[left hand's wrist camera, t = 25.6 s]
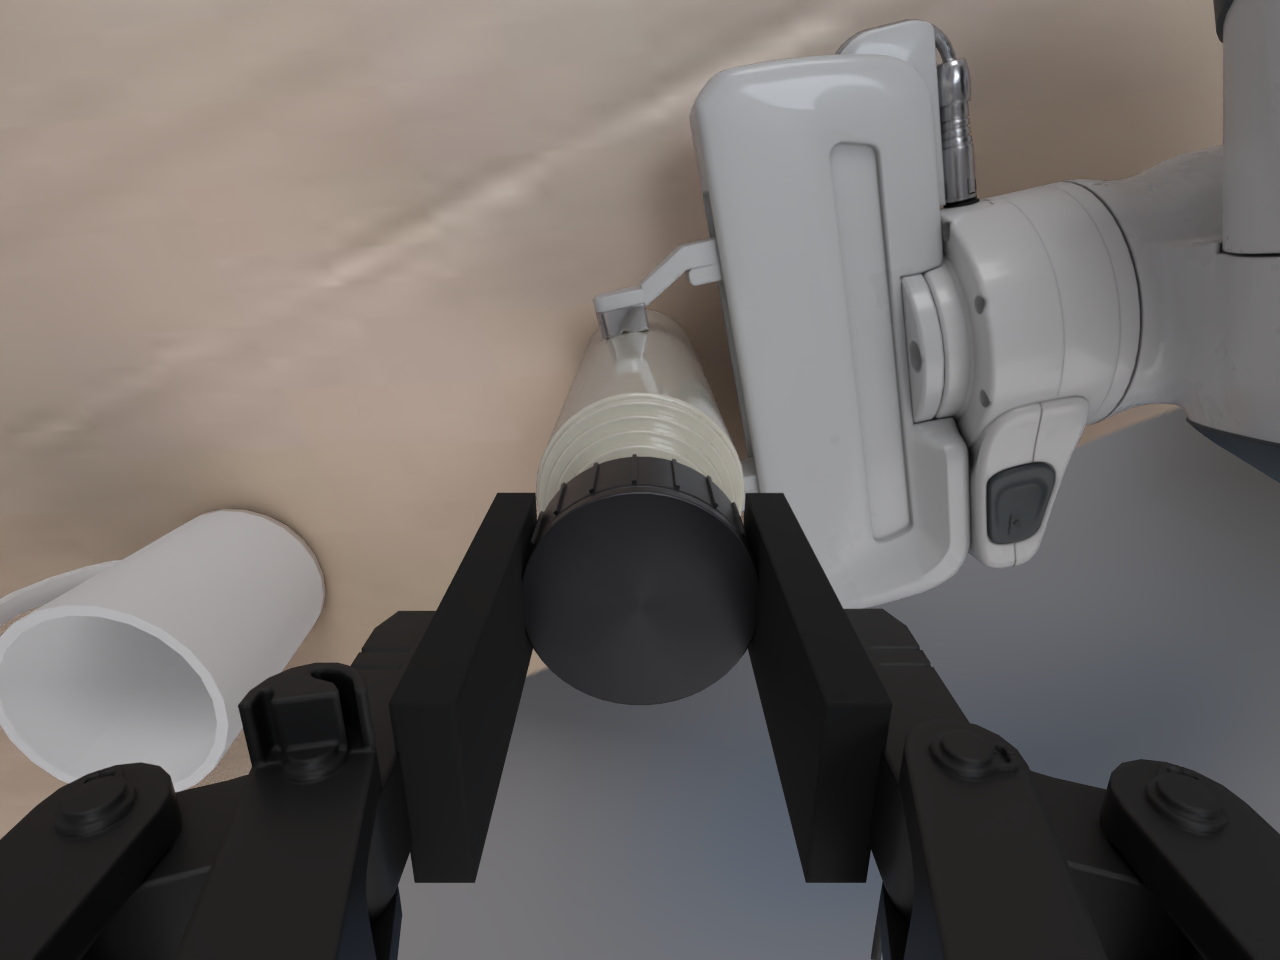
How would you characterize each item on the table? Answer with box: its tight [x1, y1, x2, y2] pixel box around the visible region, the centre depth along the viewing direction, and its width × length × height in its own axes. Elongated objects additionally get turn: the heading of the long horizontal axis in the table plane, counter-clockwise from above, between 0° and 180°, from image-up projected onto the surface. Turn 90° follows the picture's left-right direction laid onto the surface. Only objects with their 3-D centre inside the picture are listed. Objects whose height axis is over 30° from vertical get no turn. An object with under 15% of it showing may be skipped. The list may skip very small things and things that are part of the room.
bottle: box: [536, 309, 745, 517], centre depth 23 cm, size 5×5×21 cm
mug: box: [0, 509, 326, 792], centre depth 32 cm, size 11×9×10 cm
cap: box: [522, 454, 759, 705], centre depth 14 cm, size 4×4×2 cm
